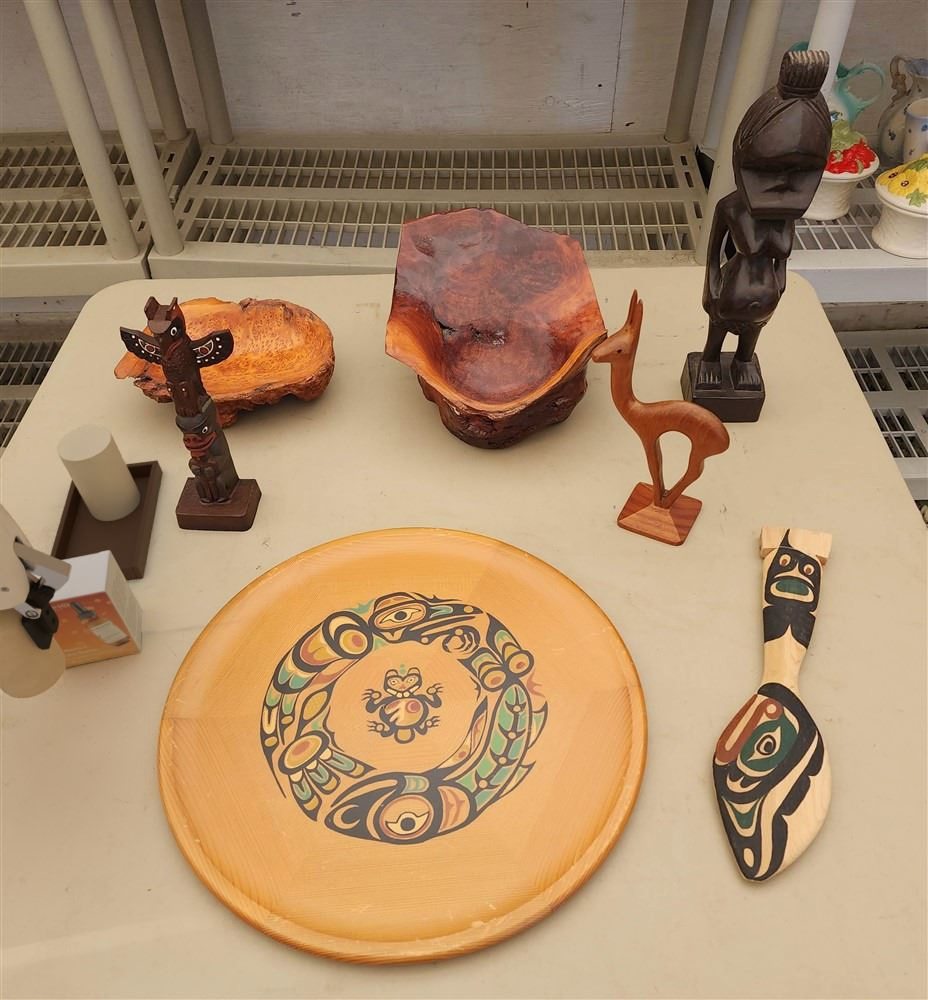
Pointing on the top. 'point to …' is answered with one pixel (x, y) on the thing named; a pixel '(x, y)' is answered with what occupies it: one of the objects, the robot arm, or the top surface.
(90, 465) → the pillar
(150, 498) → the tray
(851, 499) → the top surface
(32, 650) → the candle
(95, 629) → the small box
